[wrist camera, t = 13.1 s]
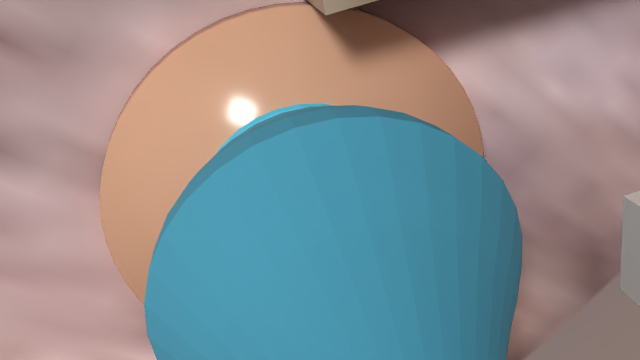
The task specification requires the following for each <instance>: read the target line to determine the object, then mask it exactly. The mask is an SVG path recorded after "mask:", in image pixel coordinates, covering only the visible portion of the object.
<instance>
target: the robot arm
mask: <svg viewBox="0 0 640 360" xmlns="http://www.w3.org/2000/svg"><path fill="white" fill-rule="evenodd" d="M620 290H621V291H623V292H624V293H625V294H626V295H627V296H628V297H629V298H630V299H631V300H633V301H634V302H635V303H636V304H637V305H638V306H639V307H640V191H637V192H634V193H631V194H628V195H625V196H624V202H623V225H622V247H621V270H620Z"/></svg>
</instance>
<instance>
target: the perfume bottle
mask: <svg viewBox="0 0 640 360" xmlns="http://www.w3.org/2000/svg"><path fill="white" fill-rule="evenodd" d="M521 266H522V233H521V228H520V223H519V219H518V214H517V209H516V206H515V204H514V202H513V200H512V198H511V196H510V194H509V192H508V190H507V188H506V186H505V184H504V182H503V180H502V179H501V178H500V177H499V175H498V174H497V173H496V172H495V171H494V170H493V168H492V167H491V166H490V165H489V164H488V163H487V161H486V160H485V159H484V158H483V157H482V156H481V155H480V154H478V153H477V152H475V151H474V150H472V149H471V148H470V147H468V146H467V145H465V144H464V143H463V142H461V141H460V140H458V139H457V138H455V137H454V136H452V135H451V134H449V133H447V132H446V131H444V130H442V129H441V128H439V127H437V126H436V125H433V124H431V123H428V122H426V121H423V120H421V119H418V118H416V117H413V116H411V115H408V114H406V113H403V112H397V111H391V110H385V109H379V108H373V107H368V106H358V105H344V106H334V105H328V104H322V103H317V104H297V105H292V106H288V107H283V108H279V109H276V110H273V111H271V112H269V113H266V114H264V115H262V116H259V117H257V118H255V119H253V120H252V121H251V122H249V123H248V124H246V125H245V126H243V127H242V128H240V129H239V130H237V131H236V132H235V133H234V134H233V135H232V136H231V137H230V138H229V139H228V140H227V141H226V142H225V143H224V144H223V145H222V146H221V147H220V149H219V150H218V151H217V153H216V154H215V155H214V156H213V157H212V158H211V159H210V160H209V161H208V162H207V163H206V164H205V165H204V166H203V167H202V168H201V169H200V170H199V171H198V172H197V173H196V175H195V176H194V177H193V178H192V179H191V181H190V182H189V183H188V184H187V186H186V187H185V189H184V190H183V192H182V193H181V195H180V196H179V198H178V199H177V201H176V202H175V204H174V205H173V207H172V208H171V210H170V211H169V213H168V214H167V217H166V219H165V222H164V224H163V227H162V229H161V232H160V234H159V237H158V239H157V242H156V245H155V247H154V251H153V255H152V259H151V263H150V267H149V272H148V279H147V286H146V293H145V300H144V307H145V316H146V325H147V334H148V338H149V340H150V343H151V345H152V348H153V350H154V353H155V356H156V358H157V360H506V355H507V348H508V342H509V335H510V329H511V324H512V320H513V316H514V312H515V307H516V303H517V296H518V289H519V281H520V274H521Z"/></svg>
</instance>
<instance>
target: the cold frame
mask: <svg viewBox="0 0 640 360" xmlns="http://www.w3.org/2000/svg"><path fill="white" fill-rule="evenodd" d="M307 1H309V2H310V3H311V4H312V5H314V6H315V7H316V8H317V9H318V10H320V11H321V12H322V13H323V14H325V15H329V14H332V13H336V12H339V11H343V10H346V9H350V8H353V7H357V6H360V5H364V4H367V3H371V2H374V1H378V0H307Z"/></svg>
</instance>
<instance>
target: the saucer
mask: <svg viewBox="0 0 640 360" xmlns="http://www.w3.org/2000/svg"><path fill="white" fill-rule="evenodd" d="M317 103H322V104H328V105H334V106H344V105H358V106H368V107H373V108H379V109H385V110H391V111H397V112H403V113H406V114H408V115H411V116H413V117H416V118H418V119H421V120H423V121H426V122H428V123H431V124H433V125H436V126H437V127H439V128H441V129H442V130H444V131H446V132H447V133H449V134H451V135H452V136H454V137H455V138H457V139H458V140H460V141H461V142H463V143H464V144H465V145H467V146H468V147H470V148H471V149H472V150H474V151H475V152H477V153H478V154H480V155H481V156H482V157H483V146H482V140H481V134H480V128H479V125H478V122H477V118H476V115H475V112H474V109H473V106H472V104H471V102H470V100H469V98H468V96H467V94H466V92H465V90H464V88H463V86H462V85H461V84H460V82H459V81H458V79H457V78H456V77H455V75H454V74H453V72H452V71H451V69H450V68H449V67H448V66H447V65H446V64H445V63H444V62H443V61H442V60H441V59H440V58H439V57H438V56H437V55H436V54H435V53H434V51H432V50H431V49H430V48H428V47H427V46H426V45H425V44H423V43H422V42H421V41H419V40H418V39H417V38H415V37H414V36H412V35H411V34H409V33H407V32H406V31H404V30H402V29H401V28H399V27H397V26H395V25H393V24H391V23H390V22H388V21H386V20H384V19H382V18H380V17H377V16H374V15H372V14H369V13H366V12H363V11H361V10H358V9H354V8H350V9H346V10H343V11H339V12H336V13H332V14H329V15H325V14H323V13H322V12H321V11H320V10H318V9H317V8H316V7H315V6H314V5H312V4H311V3H310V2H297V3H282V4H273V5H269V6H264V7H259V8H254V9H250V10H246V11H243V12H241V13H238V14H235V15H232V16H229V17H226V18H224V19H221V20H219V21H217V22H215V23H213V24H211V25H209V26H207V27H205V28H203V29H202V30H200V31H198V32H196V33H194V34H193V35H191V36H190V37H189V38H187V39H186V40H184V41H183V42H181V43H180V44H179V45H177V46H176V47H174V48H173V49H172V50H171V51H169V52H168V53H167V54H166V55H165V56H164V57H163V58H162V59H161V60H160V61H159V62H158V63H157V64H155V65H154V66H153V67H152V68H151V69H150V71H149V72H148V73H147V74H146V76H145V77H144V78H143V79H142V81H141V82H140V83H139V84H138V85H137V87H136V88H135V89H134V91H133V92H132V94H131V96H130V97H129V99H128V101H127V102H126V104H125V106H124V108H123V109H122V111H121V113H120V115H119V117H118V120H117V122H116V125H115V127H114V130H113V132H112V135H111V137H110V141H109V145H108V149H107V153H106V157H105V161H104V165H103V169H102V175H101V187H100V209H101V222H102V226H103V230H104V234H105V239H106V243H107V246H108V248H109V251H110V253H111V256H112V258H113V261H114V263H115V265H116V267H117V269H118V270H119V272H120V274H121V275H122V277H123V279H124V280H125V282H126V284H127V285H128V286H129V288H130V289H131V290H132V291H133V292H134V294H135V295H136V296H137V297H138V299H139V300H140V301H141V302H142V303H143V304H144V300H145V293H146V286H147V279H148V272H149V267H150V263H151V259H152V255H153V251H154V247H155V245H156V242H157V239H158V237H159V234H160V232H161V229H162V227H163V224H164V222H165V219H166V217H167V214H168V213H169V211H170V210H171V208H172V207H173V205H174V204H175V202H176V201H177V199H178V198H179V196H180V195H181V193H182V192H183V190H184V189H185V187H186V186H187V184H188V183H189V182H190V181H191V179H192V178H193V177H194V176H195V175H196V173H197V172H198V171H199V170H200V169H201V168H202V167H203V166H204V165H205V164H206V163H207V162H208V161H209V160H210V159H211V158H212V157H213V156H214V155H215V154H216V153H217V151H218V150H219V149H220V147H221V146H222V145H223V144H224V143H225V142H226V141H227V140H228V139H229V138H230V137H231V136H232V135H233V134H234V133H235V132H236V131H237V130H239V129H240V128H242V127H243V126H245V125H246V124H248V123H249V122H251V121H252V120H253V119H255V118H257V117H259V116H262V115H264V114H266V113H269V112H271V111H273V110H276V109H279V108H283V107H288V106H292V105H297V104H317Z"/></svg>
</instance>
